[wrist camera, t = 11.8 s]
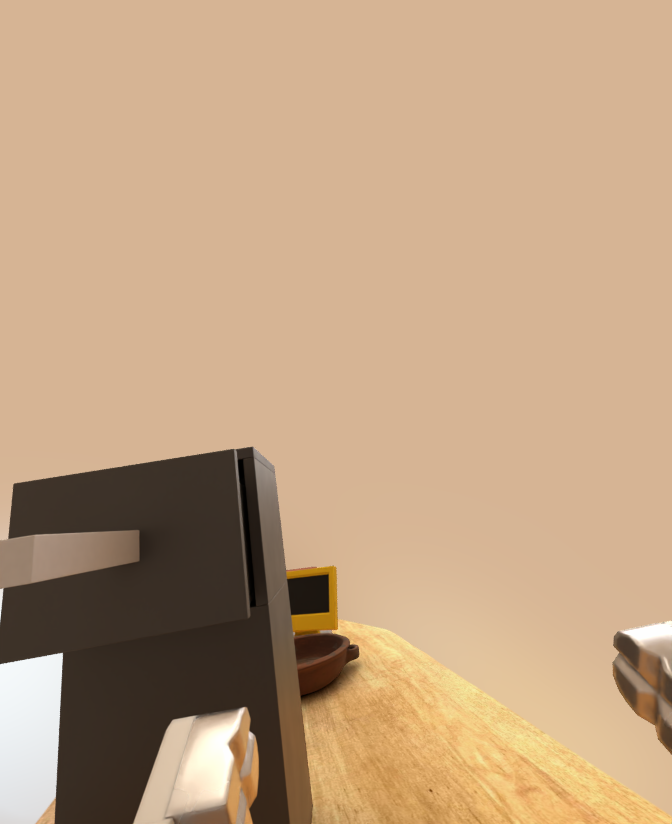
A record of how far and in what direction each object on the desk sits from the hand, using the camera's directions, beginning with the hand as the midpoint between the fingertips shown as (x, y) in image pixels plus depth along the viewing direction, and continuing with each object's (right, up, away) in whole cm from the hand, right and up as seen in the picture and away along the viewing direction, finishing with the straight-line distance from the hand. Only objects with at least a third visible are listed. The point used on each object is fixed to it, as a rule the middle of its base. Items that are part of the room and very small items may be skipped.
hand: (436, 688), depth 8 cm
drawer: (-15, -9, +16) cm, 24 cm away
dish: (-8, -41, +55) cm, 69 cm away
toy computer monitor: (-9, -48, +76) cm, 90 cm away
